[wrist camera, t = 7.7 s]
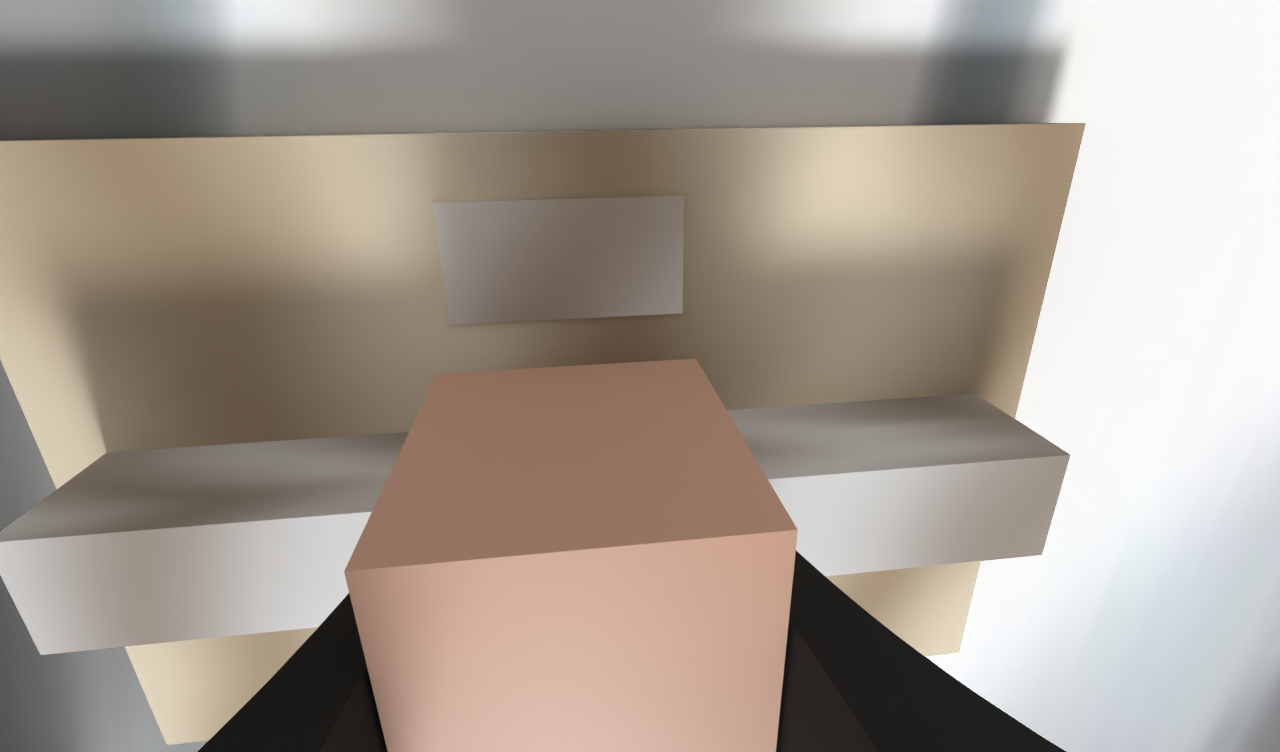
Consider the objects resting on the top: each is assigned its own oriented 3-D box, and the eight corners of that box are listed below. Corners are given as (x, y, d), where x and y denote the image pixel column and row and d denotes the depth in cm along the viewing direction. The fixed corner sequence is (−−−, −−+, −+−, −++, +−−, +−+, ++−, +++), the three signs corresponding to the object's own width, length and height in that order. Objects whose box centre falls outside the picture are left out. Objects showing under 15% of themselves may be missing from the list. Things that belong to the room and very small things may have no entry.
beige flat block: (192, 704, 14) (85, 875, 11) (-32, 141, 10) (-327, 150, 6) (935, 622, 16) (1029, 746, 13) (1043, 123, 12) (1230, 124, 8)
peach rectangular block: (478, 653, 12) (436, 950, 7) (436, 374, 9) (344, 571, 5) (689, 630, 12) (761, 898, 8) (696, 358, 10) (797, 529, 6)
